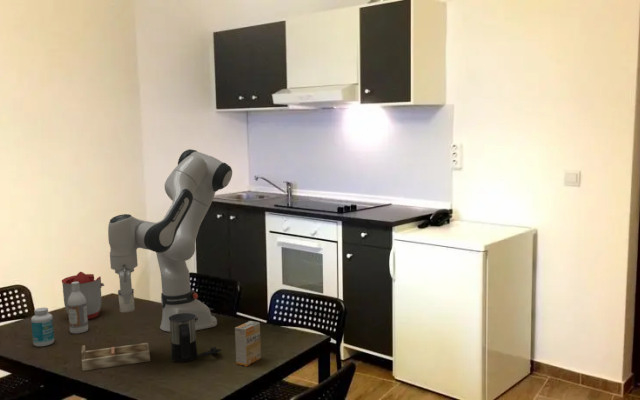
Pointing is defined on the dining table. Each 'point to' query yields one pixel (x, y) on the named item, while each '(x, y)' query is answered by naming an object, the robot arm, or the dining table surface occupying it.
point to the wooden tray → (114, 356)
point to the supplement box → (247, 343)
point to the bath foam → (77, 310)
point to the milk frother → (185, 338)
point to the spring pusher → (112, 351)
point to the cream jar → (126, 307)
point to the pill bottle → (42, 327)
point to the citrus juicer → (85, 292)
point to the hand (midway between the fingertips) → (126, 301)
